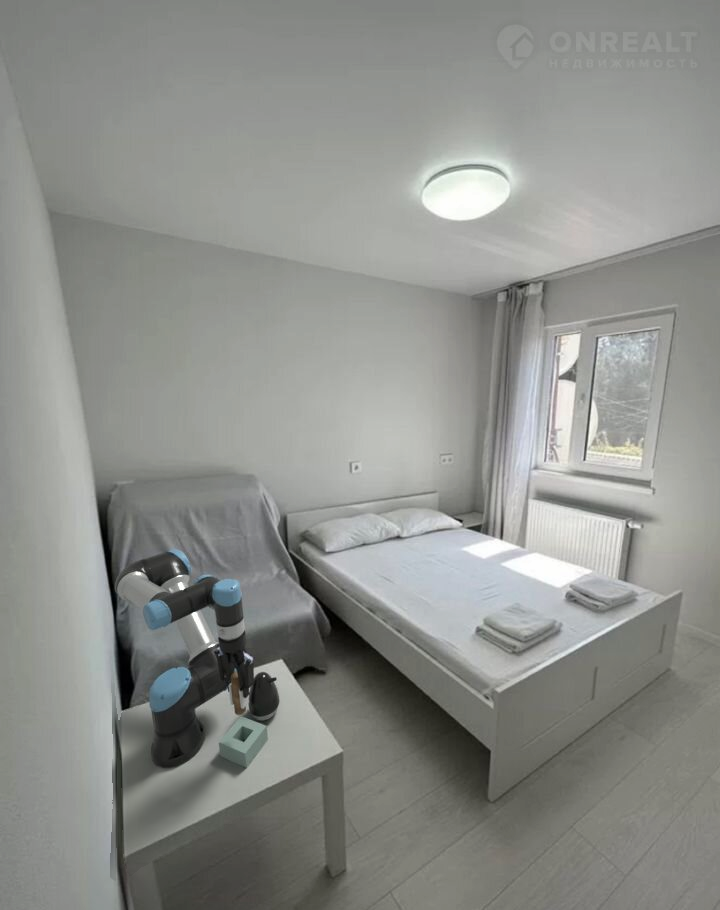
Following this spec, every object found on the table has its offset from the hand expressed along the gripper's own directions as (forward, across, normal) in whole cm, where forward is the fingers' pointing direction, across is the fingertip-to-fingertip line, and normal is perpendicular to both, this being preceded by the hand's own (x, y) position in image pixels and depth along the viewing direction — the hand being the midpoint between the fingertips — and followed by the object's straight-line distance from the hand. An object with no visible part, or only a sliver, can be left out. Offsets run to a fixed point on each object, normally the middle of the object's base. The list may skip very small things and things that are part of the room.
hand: (239, 703), depth 119 cm
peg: (+3, 0, 0) cm, 3 cm away
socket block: (+16, 0, 0) cm, 16 cm away
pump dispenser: (+16, -2, +13) cm, 21 cm away
